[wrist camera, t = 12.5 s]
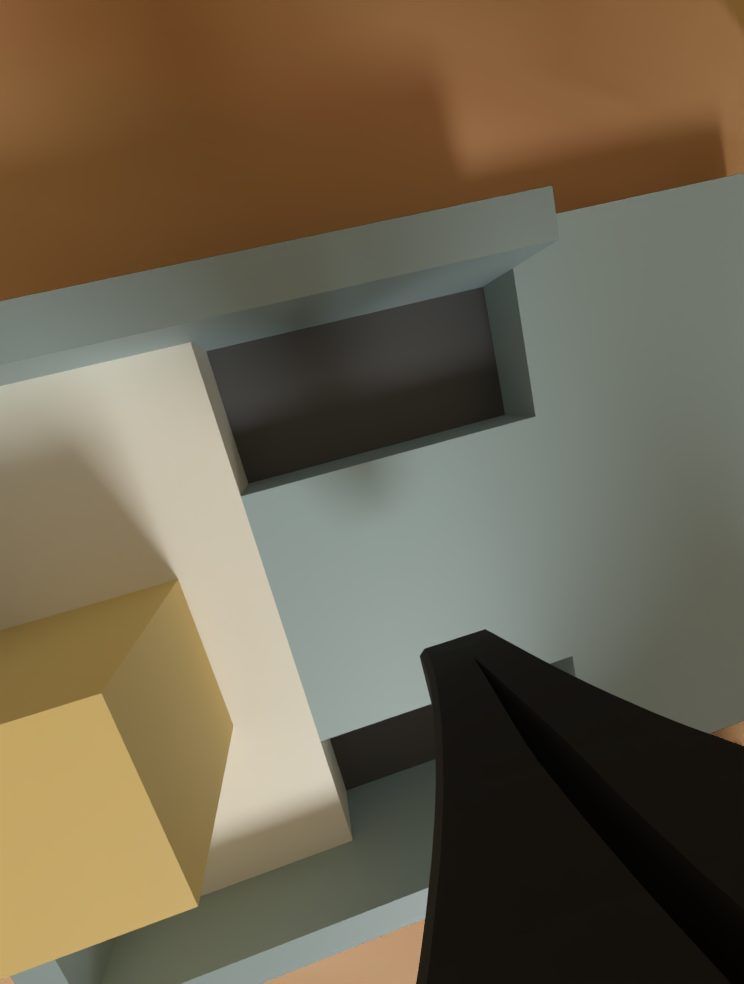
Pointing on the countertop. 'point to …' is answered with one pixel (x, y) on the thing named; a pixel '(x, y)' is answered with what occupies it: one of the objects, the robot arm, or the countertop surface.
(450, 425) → the trap tray
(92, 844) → the ochre block
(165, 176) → the countertop surface
